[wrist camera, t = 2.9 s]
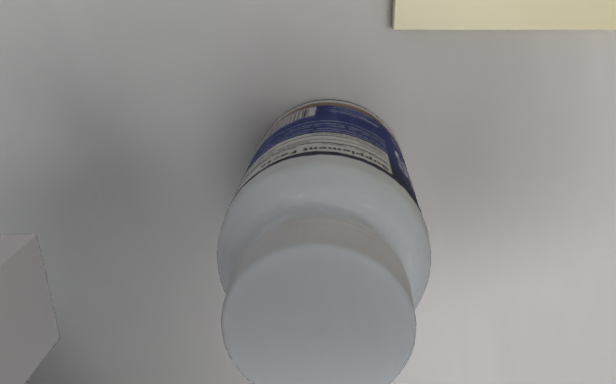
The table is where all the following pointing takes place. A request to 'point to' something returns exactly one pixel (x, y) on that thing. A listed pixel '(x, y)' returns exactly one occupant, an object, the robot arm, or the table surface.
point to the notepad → (504, 15)
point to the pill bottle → (323, 253)
